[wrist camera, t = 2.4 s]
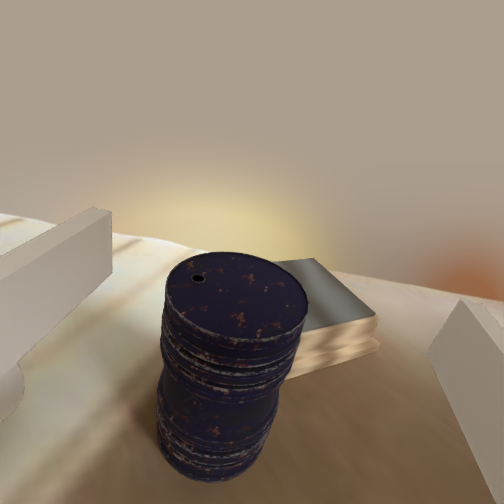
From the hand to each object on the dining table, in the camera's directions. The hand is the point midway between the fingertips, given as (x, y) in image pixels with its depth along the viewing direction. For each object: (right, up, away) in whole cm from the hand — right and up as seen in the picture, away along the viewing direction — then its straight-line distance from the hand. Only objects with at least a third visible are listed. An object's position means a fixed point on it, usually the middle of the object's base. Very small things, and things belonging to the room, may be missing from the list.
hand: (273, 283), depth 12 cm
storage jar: (-4, -14, +16) cm, 22 cm away
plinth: (+5, -8, +31) cm, 32 cm away
